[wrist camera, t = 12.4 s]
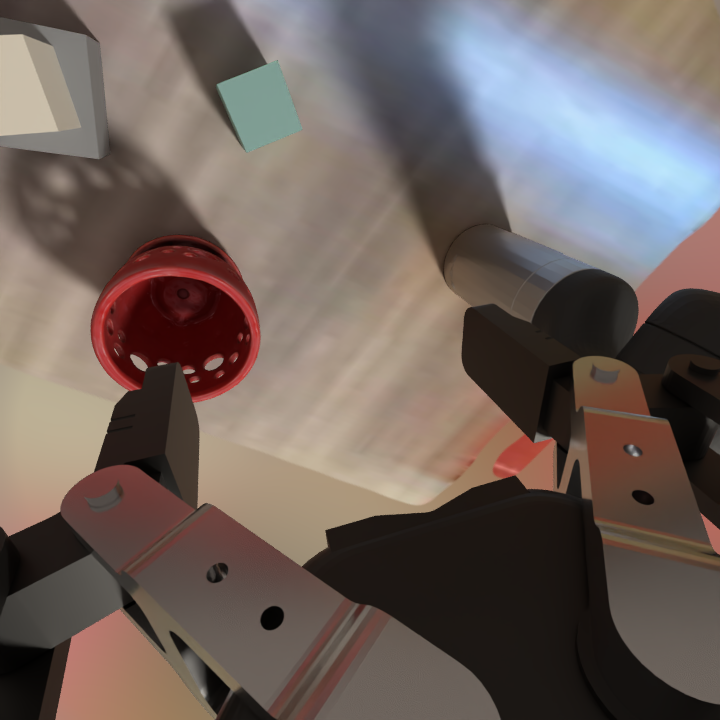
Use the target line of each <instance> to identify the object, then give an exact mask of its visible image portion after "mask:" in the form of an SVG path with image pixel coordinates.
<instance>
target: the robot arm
mask: <svg viewBox="0 0 720 720" xmlns="http://www.w3.org/2000/svg"><path fill="white" fill-rule="evenodd" d="M444 276H445V280H446V283H447V284H448V286H449V288H450V289H451V290H452V291H453V292H454V293H455V294H457V295H458V296H459V297H461V298H462V299H463V300H465V301H466V302H467V303H469V304H470V305H471V306H472V307H470V308H468V309H467V310H466V312H465V315H464V327H463V341H462V363H463V366H464V369H465V371H466V373H467V374H468V375H469V376H470V377H471V379H472V380H473V381H474V382H475V383H476V384H477V385H478V386H479V387H480V388H481V389H482V390H483V391H484V392H485V393H486V394H487V395H488V396H489V397H490V398H491V399H492V400H493V401H494V402H495V403H496V404H497V405H498V406H499V407H500V409H501V410H502V411H503V412H504V413H505V414H506V415H507V416H508V417H509V418H510V419H511V420H512V421H513V422H514V423H515V424H516V425H517V426H518V427H519V428H520V429H521V430H522V431H523V432H524V433H525V434H526V435H527V436H528V437H529V438H530V440H531V441H532V442H533V443H536V442H540V441H544V440H547V439H551V438H553V439H554V440H555V446H554V451H553V491H549V490H539V489H526V488H525V486H524V485H523V484H522V483H521V482H520V480H519V479H518V478H517V477H516V476H512V477H508V478H505V479H501V480H498V481H494V482H491V483H487V484H484V485H480V486H477V487H474V488H471V489H469V490H468V491H466V492H465V493H463V494H461V495H459V496H458V497H456V498H454V499H453V500H451V501H449V502H448V503H446V504H444V505H442V506H441V507H439V508H438V509H436V510H434V511H431V512H426V513H411V514H396V515H380V516H374V517H370V518H366V519H363V520H360V521H356V522H353V523H349V524H346V525H342V526H339V527H335V528H332V529H328V530H326V537H327V544H328V548H326V549H324V550H323V551H321V552H319V553H318V554H317V555H315V556H314V557H313V558H311V559H310V560H309V561H307V563H305V564H304V565H303V566H302V567H301V566H300V565H298V564H297V563H295V562H294V561H292V560H291V559H290V558H288V557H287V556H285V555H284V554H282V553H281V552H280V551H278V550H277V549H275V548H274V547H273V546H271V545H270V544H268V543H267V542H265V541H264V540H262V539H261V538H260V537H258V536H256V535H255V534H254V533H253V532H251V531H249V530H248V529H247V528H245V527H244V526H242V525H241V524H240V523H238V522H237V521H235V520H234V519H233V518H231V517H230V516H228V515H227V514H225V513H224V512H223V511H221V510H220V509H218V508H217V507H215V506H214V505H211V504H208V503H205V504H203V505H202V506H200V507H199V508H198V509H197V500H198V466H199V424H198V419H197V414H196V411H195V408H194V404H193V401H192V398H191V395H190V392H189V389H188V386H187V383H186V379H185V376H184V373H183V370H182V367H181V365H180V364H179V362H176V363H170V364H165V365H160V366H154V367H149V368H147V369H146V373H145V377H144V381H143V385H142V389H137V390H132V391H128V392H127V393H126V394H125V395H124V396H123V397H122V398H121V400H120V401H119V402H118V403H117V404H116V405H115V408H114V411H113V414H112V417H111V422H110V423H109V426H108V429H107V434H106V436H105V439H104V442H103V445H102V448H101V452H100V455H99V458H98V461H97V464H96V468H95V471H94V473H92V474H90V475H88V476H86V477H85V478H83V479H82V480H81V481H79V482H78V483H77V484H76V485H74V486H73V487H72V488H71V489H70V490H69V492H68V493H67V494H66V495H65V497H64V499H63V501H62V504H61V512H59V513H57V514H56V515H54V516H52V517H50V518H48V519H46V520H44V521H42V522H40V523H37V524H35V525H33V526H31V527H28V528H26V529H24V530H22V531H20V532H18V533H15V534H13V535H11V536H9V537H8V535H7V534H6V533H5V531H4V530H3V529H2V528H1V527H0V720H55V718H56V713H57V708H58V703H59V698H60V693H61V688H62V683H63V678H64V672H65V667H66V662H67V657H68V652H69V647H70V642H71V637H72V636H74V635H76V634H77V633H79V632H80V631H82V630H84V629H85V628H87V627H89V626H91V625H92V624H94V623H96V622H98V621H99V620H101V619H103V618H104V617H106V616H108V615H110V614H111V613H113V612H115V611H116V610H118V609H120V610H121V611H122V612H123V614H124V615H125V616H126V617H127V618H128V619H129V620H130V621H131V622H132V623H133V625H134V626H135V627H136V628H137V629H138V630H139V631H140V632H141V633H142V634H143V636H144V637H146V639H147V640H148V641H149V642H150V643H151V644H152V645H153V647H154V648H155V649H156V650H157V651H158V652H159V653H160V654H161V655H162V656H163V657H164V659H166V661H167V662H168V663H169V664H170V665H171V666H172V668H173V669H174V670H175V671H176V673H177V674H178V675H179V677H180V678H181V679H182V681H183V682H184V683H185V685H186V686H187V688H188V689H189V690H190V692H191V693H192V694H193V695H194V697H195V698H196V699H197V700H198V701H199V703H200V704H201V705H202V706H203V707H204V708H205V710H206V711H207V712H208V713H209V714H210V715H211V716H212V717H213V718H214V719H215V720H720V555H719V554H717V553H716V552H715V551H714V549H713V547H712V545H711V543H710V540H709V537H708V534H707V531H706V528H705V525H704V522H703V519H702V516H701V514H700V513H702V514H703V515H704V516H705V517H706V518H707V519H708V520H710V521H711V522H712V523H713V524H714V525H715V526H716V527H717V528H719V529H720V293H717V292H713V291H708V290H703V289H691V288H690V289H682V290H679V291H676V292H674V293H672V294H671V295H670V296H668V297H667V298H666V299H665V300H664V301H663V302H662V303H661V304H660V305H659V306H658V307H657V308H656V309H655V310H654V311H653V313H652V314H651V315H650V316H649V317H648V319H647V320H646V321H645V324H643V325H642V326H641V327H640V328H639V330H638V331H637V332H636V333H635V334H634V331H635V328H636V324H637V319H638V300H637V297H636V294H635V292H634V290H633V289H632V287H631V286H630V285H629V284H628V283H626V282H625V281H624V280H622V279H621V278H619V277H617V276H615V275H612V274H610V273H607V272H605V271H602V270H600V269H598V268H595V267H593V266H590V265H588V264H586V263H583V262H581V261H578V260H575V259H573V258H571V257H568V256H566V255H563V253H561V252H558V251H556V250H554V249H551V248H549V247H546V246H544V245H542V244H539V243H537V242H534V241H532V240H529V239H527V238H525V237H522V236H520V235H517V234H515V233H512V232H508V231H506V230H503V229H501V228H498V227H496V226H493V225H488V224H482V225H477V226H474V227H471V228H469V229H468V230H466V231H464V232H463V233H462V234H461V235H460V236H458V237H457V238H456V240H455V241H454V242H453V244H452V245H451V247H450V249H449V250H448V252H447V255H446V258H445V263H444ZM633 334H634V335H633Z"/></svg>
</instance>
